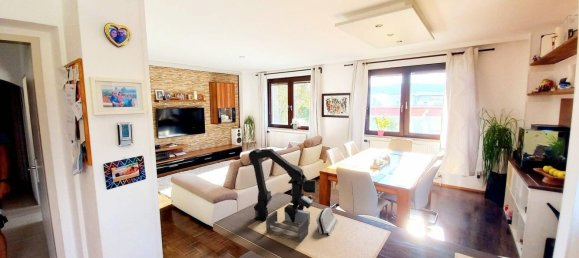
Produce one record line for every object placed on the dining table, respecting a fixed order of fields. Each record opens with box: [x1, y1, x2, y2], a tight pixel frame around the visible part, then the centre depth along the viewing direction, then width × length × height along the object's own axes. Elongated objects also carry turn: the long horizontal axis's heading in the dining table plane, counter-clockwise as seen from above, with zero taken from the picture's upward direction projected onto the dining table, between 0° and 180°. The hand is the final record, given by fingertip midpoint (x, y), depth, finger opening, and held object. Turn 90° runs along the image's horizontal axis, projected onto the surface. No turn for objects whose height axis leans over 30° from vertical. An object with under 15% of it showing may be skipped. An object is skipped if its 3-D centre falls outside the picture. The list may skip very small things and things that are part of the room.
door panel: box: [284, 209, 311, 227], centre depth 132 cm, size 14×2×7 cm, turn 63°
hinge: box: [316, 207, 339, 236], centre depth 128 cm, size 17×5×10 cm, turn 155°
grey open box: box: [265, 210, 309, 244], centre depth 121 cm, size 19×9×8 cm, turn 63°
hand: (297, 219), depth 133 cm, fingers open, 9 cm apart
